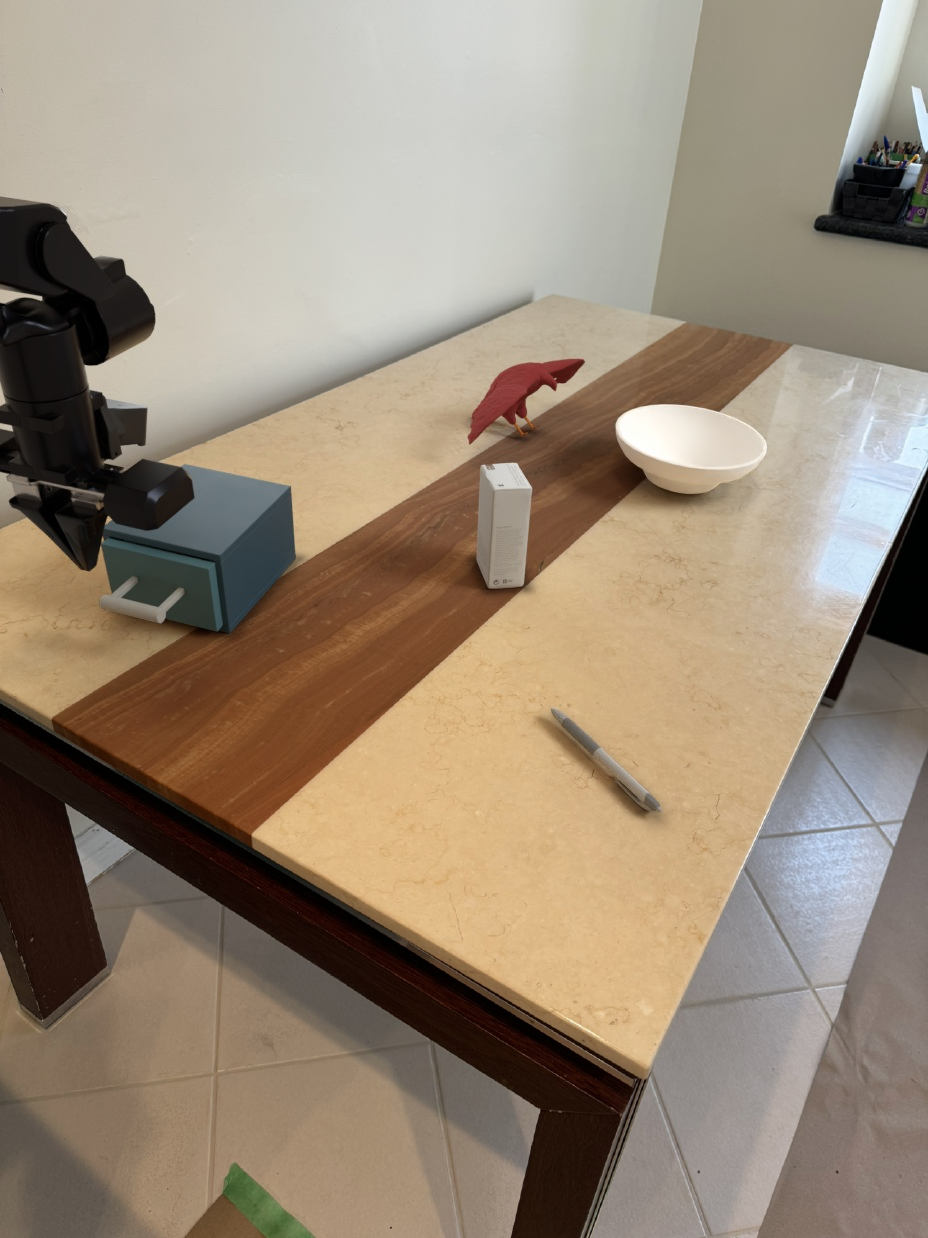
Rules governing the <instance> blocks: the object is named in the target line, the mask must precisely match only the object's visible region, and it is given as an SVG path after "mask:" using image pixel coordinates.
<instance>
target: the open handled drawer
mask: <svg viewBox="0 0 928 1238" xmlns="http://www.w3.org/2000/svg"><path fill="white" fill-rule="evenodd" d="M100 549H101V553H102V556H103V561H104V565H105V570H106V576H107V578H108V579H107V580H108V583H109V588H110V593H111V594H108V593H107V594H106V593H105V594H103V595H102V596H101V597H100V599H99V603H98V604H99V608H100V609H102V610H103V611H109V612H113V613H116V614H121V615H125V616H128V617H133V618H136V619H141V620H145V621H148V622H151V623H156V624H163V623H164V621H165V620H168V621H173V622H175V623H179V624H185V625H188V626H193V627H197V628H200V629H205V630H209V631H212V632H219V631H218V630H219V629H220V628H221V627H222V626H223V620H222V613H221V605H220V597H219V590H218V582H217V575H216V567H215V563H214V561H213V560H210V561H205V560H201V559H197V558H193V557H188V556H184V555H180V554H175V553H171V552H167V551H163V550H160V548H157V547H153V546H149V545H144V544H140V543H136V542H131V541H127V540H125V542H124V541H120V540H115V539H111V538H107V539H106V540H105V541H104V540H102V542H101V546H100Z"/></svg>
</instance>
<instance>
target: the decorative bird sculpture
mask: <svg viewBox="0 0 928 1238" xmlns="http://www.w3.org/2000/svg"><path fill="white" fill-rule="evenodd" d="M585 363H586V360H585V359H584V358H564V359H558V360H557V359H556V360H551V361H544V362H534V361H533V362H531V361H530V362H523V363H518V364H515V365H512V366H510V367H507V368H506V369H504V370H503V371H500V372H499V373H498V374H497V376H496V377H495V378H494V379H493V381H492V383H491V384H490V385H489V389H488V390H487V392H486V393H485V395H484V398H483V399H482V400H481V401H480V402H479V404H478V405H477V407H476V408H475V409H474V411H473V412H472V414H471V417H470V418H471V419H472V421H471V422H470V425H469V428H470V431H469V433H468V434H467V437H466V438H467V440H468V445H469V446H471V445H472V444H473V443H474V442H476V440H477V439H478V438H479V437H480V435H481V434H483V432H484V431H485V430H486V429H487V428H488V427H490V426H491V425H492V424H493V423H494V422H495V421H496V420H498V419H499V418H500V417H502V418H504V419H505V420H506V422H508V423H509V424H510V425H512V426H514V427H515V428H516V430H517V431H518V433H520V436H519V438H520V439H522V437H524V436H526V435H528V434H529V432H525V433H524V432H523V431H522V430H521V428H520V427H519V426H518V424H517V417H518V418H520V419H524V420H525V422H526V423H527V424H528V425H529V426H530V429H529V431H530V432H532V430H534V429H536V428H538V427H540V425H535V426H534V425H533V424H532V423H531V421H530V420H529V418H528V417H527V416H528V409H527V398H528V397H530V396H532V395H533V394H535V393H537V391H539V390H540V389H541V388H542V386H548V387H549V388H550V389H551V390H552V391H554V392H556V391H557V388H558V385H559V384H566V383H568V381H570V380H572V378H573V377H574V376H575V375H576V374H577V373H578V372H579V370H580V369H581V368H582V367H583V366H584V365H585ZM516 416H517V417H516Z"/></svg>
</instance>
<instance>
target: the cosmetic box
mask: <svg viewBox="0 0 928 1238" xmlns="http://www.w3.org/2000/svg"><path fill="white" fill-rule="evenodd" d="M532 494H533V487H532V485H531V484H530V482H529V480H528V479H527V478H526V476H525V474H524V472H523V471H522V469H521V467H520V465H519V464H518V462H501V463H490V464H481V465H480V469H479V487H478V513H477V514H478V515H477V537H476V563H477V565H478V567H479V570H480V572H481V574H482V577H483V579H484V582H485V585H486V586H487V588H488V589H494V590H495V589H497V590H498V589H512V588H520V587H521V588H522V587H523V586H524V584H525V575H526V565H527V564H526V562H527V551H528V541H529V529H530V520H531V519H530V517H531V506H532V496H533V495H532Z"/></svg>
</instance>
